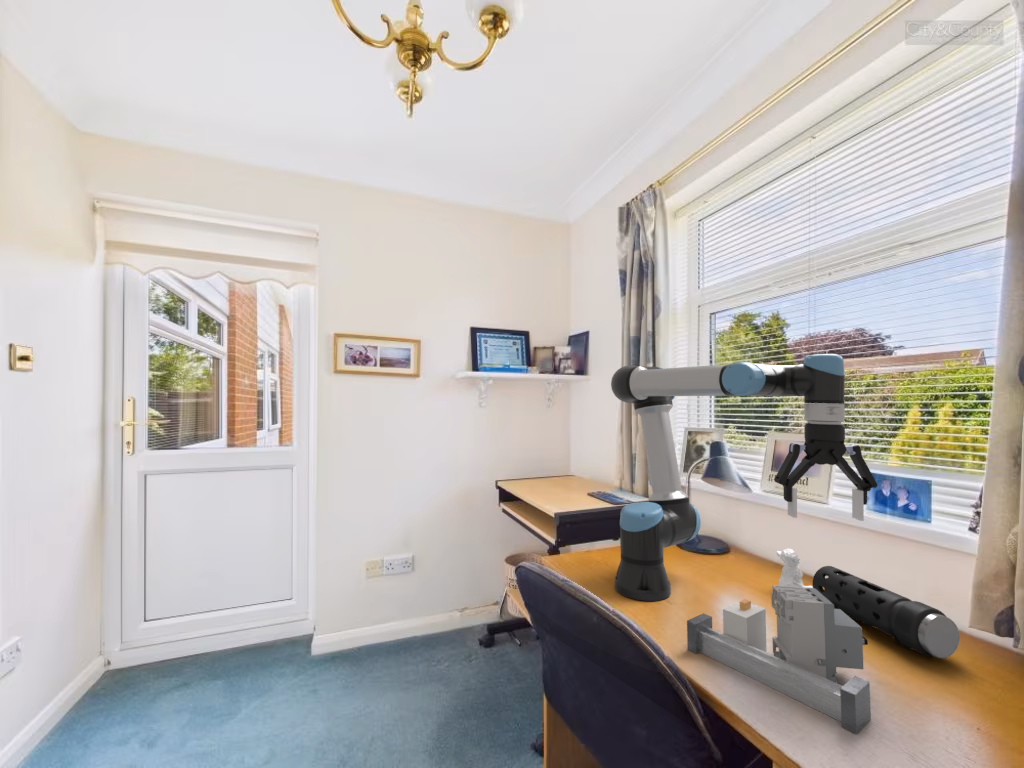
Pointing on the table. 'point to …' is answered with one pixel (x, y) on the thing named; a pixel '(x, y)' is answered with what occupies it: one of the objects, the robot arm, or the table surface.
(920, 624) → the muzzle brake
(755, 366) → the robot arm
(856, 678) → the din rail
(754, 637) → the mounted module
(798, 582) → the white creature statuette
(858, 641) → the circuit breaker
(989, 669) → the table surface
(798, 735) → the table surface
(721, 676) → the table surface
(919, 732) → the table surface
